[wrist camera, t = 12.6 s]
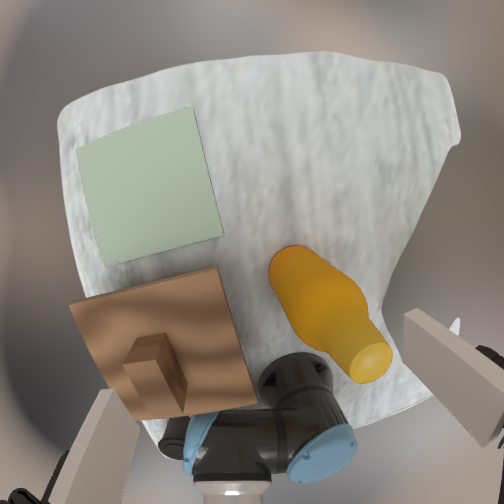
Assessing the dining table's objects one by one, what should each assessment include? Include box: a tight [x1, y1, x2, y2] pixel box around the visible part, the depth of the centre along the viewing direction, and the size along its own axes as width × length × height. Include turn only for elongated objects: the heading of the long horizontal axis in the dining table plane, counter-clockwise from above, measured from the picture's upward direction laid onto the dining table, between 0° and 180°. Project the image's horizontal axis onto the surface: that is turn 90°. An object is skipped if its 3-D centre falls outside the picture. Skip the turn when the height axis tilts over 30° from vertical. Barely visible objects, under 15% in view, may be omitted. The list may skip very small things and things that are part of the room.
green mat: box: [76, 107, 224, 268], centre depth 43 cm, size 22×22×1 cm
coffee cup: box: [158, 416, 191, 460], centre depth 49 cm, size 8×8×10 cm
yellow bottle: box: [269, 246, 393, 384], centre depth 34 cm, size 9×9×29 cm
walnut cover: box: [69, 266, 258, 420], centre depth 30 cm, size 20×20×8 cm
